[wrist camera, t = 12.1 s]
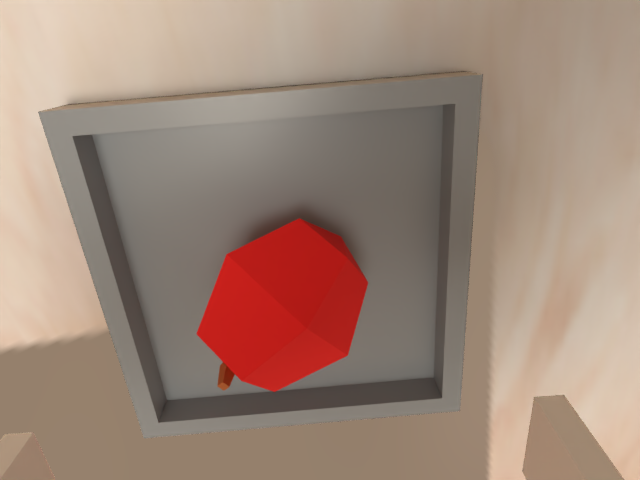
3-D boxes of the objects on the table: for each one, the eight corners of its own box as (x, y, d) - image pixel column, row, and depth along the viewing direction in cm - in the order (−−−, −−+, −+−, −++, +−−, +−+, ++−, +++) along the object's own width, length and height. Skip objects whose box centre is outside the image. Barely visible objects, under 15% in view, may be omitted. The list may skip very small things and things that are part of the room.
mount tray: (463, 71, 19) (482, 74, 17) (447, 382, 26) (459, 411, 24) (66, 104, 19) (38, 112, 17) (156, 407, 26) (144, 438, 24)
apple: (326, 198, 15) (159, 385, 14) (427, 307, 18) (297, 462, 17) (261, 170, 21) (142, 299, 20) (346, 255, 24) (247, 369, 23)
